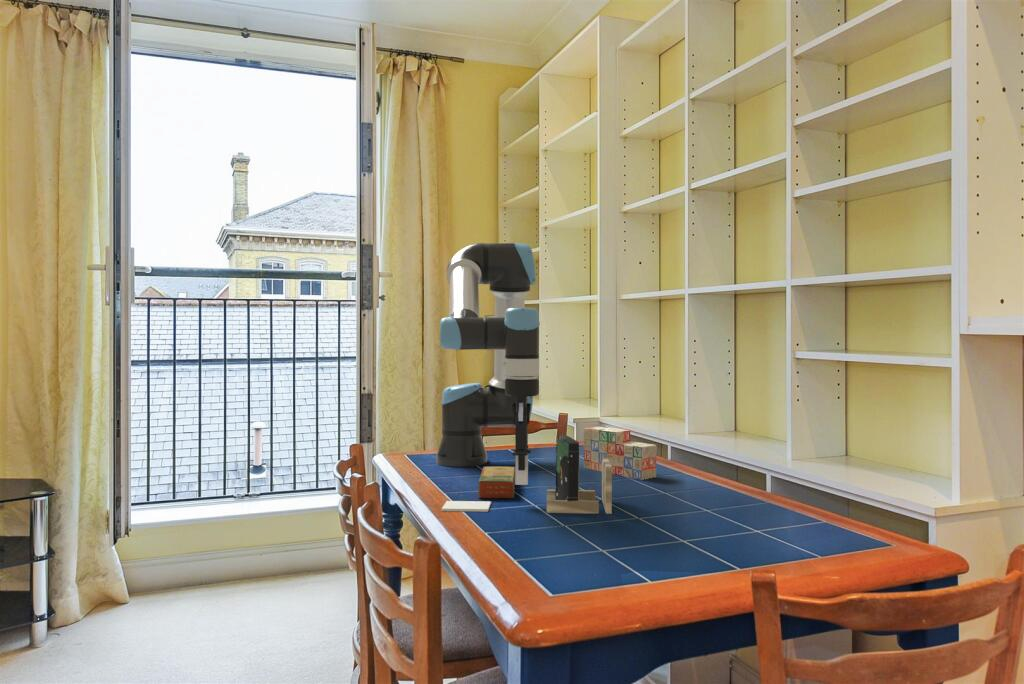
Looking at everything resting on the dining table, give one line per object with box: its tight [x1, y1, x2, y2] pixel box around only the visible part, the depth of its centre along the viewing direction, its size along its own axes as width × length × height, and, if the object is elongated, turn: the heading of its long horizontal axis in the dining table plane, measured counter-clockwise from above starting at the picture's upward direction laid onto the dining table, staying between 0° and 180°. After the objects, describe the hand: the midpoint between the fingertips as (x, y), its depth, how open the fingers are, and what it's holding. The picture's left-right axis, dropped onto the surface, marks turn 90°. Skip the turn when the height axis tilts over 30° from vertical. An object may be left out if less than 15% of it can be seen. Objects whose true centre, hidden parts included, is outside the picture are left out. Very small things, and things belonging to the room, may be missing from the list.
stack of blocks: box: [582, 426, 658, 481], centre depth 186 cm, size 21×6×12 cm, turn 39°
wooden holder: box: [546, 457, 613, 515], centre depth 149 cm, size 11×14×10 cm
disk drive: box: [555, 434, 581, 501], centre depth 149 cm, size 10×3×15 cm, turn 12°
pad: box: [441, 500, 492, 513], centre depth 149 cm, size 7×10×1 cm
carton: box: [477, 466, 516, 499], centre depth 164 cm, size 8×16×4 cm, turn 179°
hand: (521, 483), depth 151 cm, fingers closed
